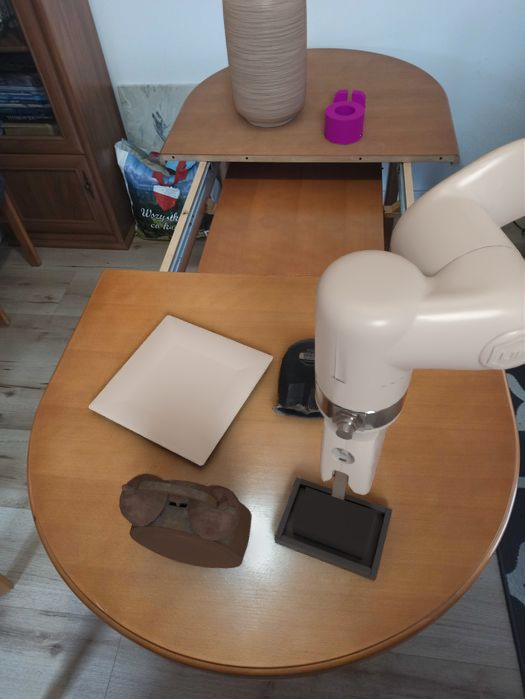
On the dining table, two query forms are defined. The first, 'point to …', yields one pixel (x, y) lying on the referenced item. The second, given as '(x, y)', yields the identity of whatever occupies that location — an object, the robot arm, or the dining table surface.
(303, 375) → the electronic device
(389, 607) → the dining table surface
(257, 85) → the vase
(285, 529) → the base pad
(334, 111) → the magenta ring with prongs
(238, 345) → the plate
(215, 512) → the alarm clock
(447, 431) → the dining table surface
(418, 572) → the dining table surface
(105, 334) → the dining table surface
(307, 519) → the black rectangular block
